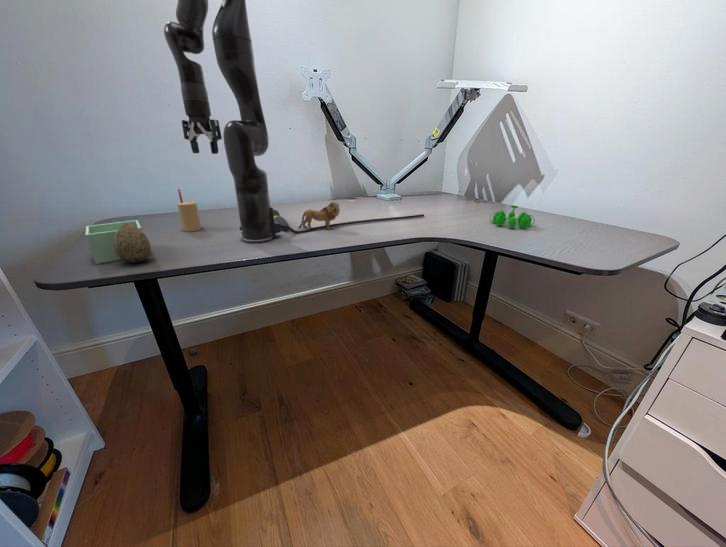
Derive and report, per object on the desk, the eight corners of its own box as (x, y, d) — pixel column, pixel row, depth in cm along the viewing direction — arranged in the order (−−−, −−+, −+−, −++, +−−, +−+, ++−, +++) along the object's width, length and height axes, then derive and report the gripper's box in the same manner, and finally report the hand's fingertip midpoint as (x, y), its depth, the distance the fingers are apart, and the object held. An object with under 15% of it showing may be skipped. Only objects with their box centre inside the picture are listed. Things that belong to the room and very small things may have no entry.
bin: (144, 245, 91) (137, 220, 88) (148, 254, 83) (141, 227, 80) (95, 253, 84) (86, 226, 81) (95, 264, 77) (85, 234, 74)
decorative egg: (116, 269, 74) (103, 228, 70) (123, 259, 80) (111, 221, 76) (152, 264, 77) (141, 225, 73) (155, 255, 83) (145, 218, 79)
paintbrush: (298, 230, 107) (297, 215, 105) (284, 232, 104) (283, 217, 102) (274, 219, 121) (273, 206, 119) (262, 221, 118) (260, 208, 116)
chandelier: (488, 227, 112) (491, 208, 109) (490, 218, 125) (493, 201, 122) (535, 232, 107) (539, 211, 104) (531, 222, 120) (535, 204, 117)
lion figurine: (338, 225, 113) (338, 200, 110) (341, 229, 108) (340, 203, 105) (297, 227, 110) (295, 202, 107) (298, 231, 105) (296, 204, 102)
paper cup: (205, 228, 109) (197, 187, 103) (191, 232, 104) (182, 189, 98) (193, 226, 110) (184, 186, 105) (179, 230, 106) (169, 188, 100)
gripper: (169, 99, 100) (181, 153, 107) (203, 97, 96) (212, 154, 102) (189, 102, 107) (199, 152, 113) (221, 100, 102) (229, 153, 108)
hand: (205, 153), depth 108 cm, fingers open, 8 cm apart
